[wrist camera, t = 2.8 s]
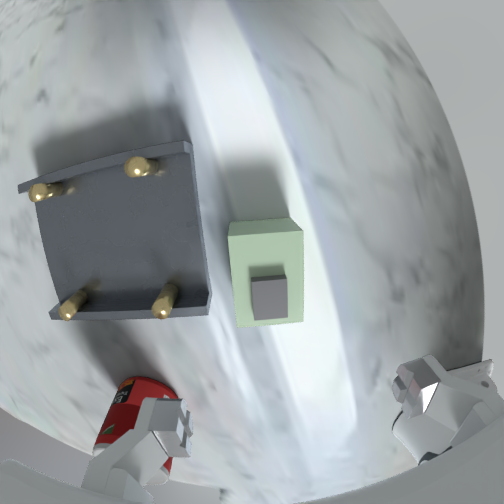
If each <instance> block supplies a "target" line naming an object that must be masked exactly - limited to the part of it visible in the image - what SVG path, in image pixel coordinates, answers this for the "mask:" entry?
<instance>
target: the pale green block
mask: <svg viewBox="0 0 504 504" xmlns="http://www.w3.org/2000/svg"><path fill="white" fill-rule="evenodd" d="M228 246H229V256H230V266H231V276H232V286H233V295H234V304H235V314H236V322H237V328H241V327H254V326H265V325H276V324H286V323H295V322H303V312H304V244H303V230H302V229H301V228H300V227H299V226H298V225H297V224H296V223H295V222H294V221H293V220H292V219H291V218H276V219H262V220H249V221H236V222H230V225H229V231H228Z"/></svg>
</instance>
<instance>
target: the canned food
mask: <svg viewBox="0 0 504 504" xmlns="http://www.w3.org/2000/svg"><path fill="white" fill-rule="evenodd" d="M145 397H148V398H173V399H178V397H177V395H176V394H175V393H174V392H173V391H172V390H171V389H170V388H169V387H167V386H166V385H164V384H162V383H160V382H158V381H156V380H153V379H150V378H146V377H132V378H129V379H127V380H125V381H124V382H123V383H122V384H121V385H120V387H119V389H118V391H117V393H116V395H115V398H114V400H113V402H112V404H111V407H110V409H109V411H108V413H107V416H106V418H105V420H104V423H103V425H102V427H101V430H100V432H99V434H98V437H97V439H96V442H95V445H94V447H93V452H92V453H93V457H94V458H95V457H96V456H97V455H98V454H100V453H101V452H102V451H104V450H105V449H106V448H107V447H109V446H110V445H111V444H113V443H114V442H115V441H116V440H118V439H119V438H120V437H121V436H123V435H124V434H125V433H126V432H128V431H129V430H130V429H134V427H135V424H136V421H137V418H138V414H139V411H140V408H141V405H142V401H143V400H144V398H145ZM172 458H173V457H168V459H167V460H166V462H165V463H164V464H163V465H162V466H161V467H160V469H159V470H158V471H157V472H156V473H155V474H154V475H153V477H152V478H151V479H150V480H149V481H148V482H147V483H146V484H147V485H160V484H164V483H166V482H167V481H168V478H169V476H170V470H171V465H172Z"/></svg>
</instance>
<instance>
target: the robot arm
mask: <svg viewBox="0 0 504 504" xmlns="http://www.w3.org/2000/svg"><path fill="white" fill-rule="evenodd" d="M493 366H494V362H493V361H492V360H491V359H489V360H486V361H483V362H480V363H476V364H473V365H469V366H466V367H462V368H458V369H455V370H451V371H446V370H445V369H444V368H443V367H442V366H441V365H440V363H439V362H438V361H437V360H436V359H435V358H434V357H433V356H432V355H427V356H424V357H422V358H418V359H416V360H413V361H410V362H407V363H404V364H401V365H400V366H399V367H398V369H397V374H398V376H397V377H396V378H395V380H394V382H393V386H392V387H393V394H394V397H395V399H396V400H397V401H398V402H400V403H402V407H401V409H402V410H403V413H402V414H401V415H400V417H399V418H398V419H397V421H396V423H395V424H394V427H393V434H394V436H395V437H397V438H398V439H399V440H400V441H401V442H402V443H403V444H404V445H405V446H406V447H407V449H408V450H409V451H410V452H411V454H412V455H413V456H414V458H415V459H416V461H417V462H418V466H417V467H414V468H412V469H410V470H408V471H405V472H403V473H401V474H398V475H396V476H393V477H391V478H388V479H385V480H383V481H380V482H377V483H374V484H371V485H368V486H365V487H362V488H359V489H356V490H352V491H349V492H345V493H342V494H338V495H334V496H330V497H326V498H321V499H316V500H311V501H306V502H301V503H295V504H504V400H503V399H502V398H501V397H500V395H499V394H498V393H497V387H496V385H495V383H494V382H493V381H492V379H491V378H490V376H491V374H492V371H493ZM192 435H193V420H192V416H191V413H190V412H189V411H188V410H187V403H186V401H185V399H173V398H148V397H145V398H144V400H143V401H142V405H141V408H140V411H139V414H138V418H137V421H136V424H135V427H134V429H130V430H129V431H128V432H126V433H125V434H124V435H123V436H121V437H120V438H119V439H118V440H116V441H115V442H114V443H113V444H111V445H110V446H109V447H107V448H106V449H105V450H104V451H102V452H101V453H100V454H98V455H97V456H96V457H95V458H93V459H92V460H91V461H90V462H89V465H88V468H87V471H86V474H85V477H84V479H83V482H82V486H81V487H77V486H74V485H72V484H69V483H66V482H63V481H61V480H58V479H56V478H53V477H50V476H48V475H46V474H43V473H41V472H39V471H37V470H35V469H32V468H30V467H28V466H26V465H24V464H22V463H20V462H18V461H16V460H13V459H7V460H4V461H2V462H1V463H0V504H153V502H154V498H153V497H152V496H151V494H149V493H148V492H147V491H146V490H145V489H144V488H143V487H144V485H146V483H147V482H148V481H149V480H150V479H151V478H152V477H153V475H154V474H155V473H156V472H157V471H158V470H159V469H160V467H161V466H162V465H163V464H164V463H165V462H166V460H167V459H168V457H190V455H191V445H192V443H191V441H190V439H189V438H190V437H191V436H192Z"/></svg>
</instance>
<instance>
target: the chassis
mask: <svg viewBox="0 0 504 504" xmlns="http://www.w3.org/2000/svg"><path fill="white" fill-rule="evenodd" d="M18 192H19V194H20V193H25V192H29V198H30V200H31V201H32V202H35V206H36V212H37V218H38V223H39V228H40V233H41V238H42V242H43V247H44V251H45V255H46V259H47V262H48V266H49V270H50V273H51V277H52V280H53V283H54V286H55V290H56V293H57V296H58V299H59V303H58V304H57V305H56V306H55V307H54V308H53V309H52V310H50V311H49V315H50V317H51V319H52V320H65V321H69V320H122V319H152V318H158V319H166V318H172V317H188V316H203V315H208V313H209V308H210V302H211V297H212V291H211V285H210V278H209V272H208V266H207V259H206V252H205V245H204V238H203V231H202V223H201V216H200V208H199V200H198V192H197V183H196V174H195V165H194V155H193V145H192V144H190V143H188V142H186V141H184V140H183V141H176V142H171V143H165V144H160V145H154V146H149V147H144V148H140V149H135V150H130V151H126V152H122V153H118V154H114V155H110V156H106V157H102V158H98V159H94V160H91V161H87V162H84V163H80V164H77V165H74V166H70V167H67V168H64V169H61V170H58V171H55V172H52V173H49V174H46V175H43V176H40V177H38V178H35V179H32V180H30V181H27V182H24V183H22V184H19V185H18Z"/></svg>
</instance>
